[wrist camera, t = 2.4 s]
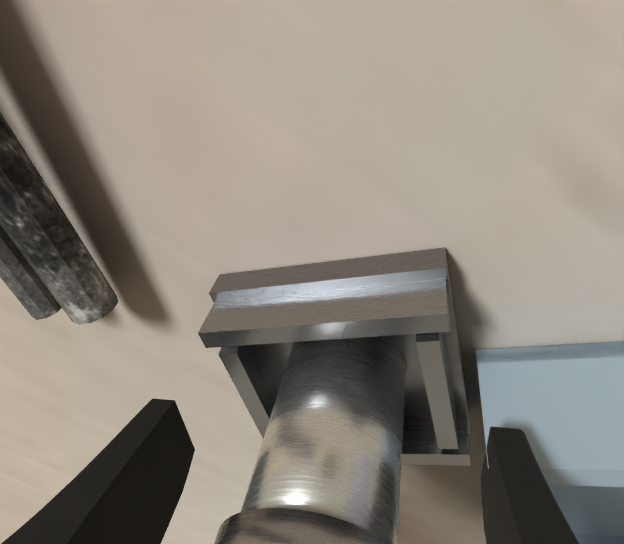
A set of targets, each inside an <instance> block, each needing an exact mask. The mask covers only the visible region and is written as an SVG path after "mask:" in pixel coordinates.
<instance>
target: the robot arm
mask: <svg viewBox="0 0 624 544" xmlns="http://www.w3.org/2000/svg"><path fill="white" fill-rule="evenodd" d="M486 449H487V453H486V454H485V459H484V465H483V471H482V476H481V488H482V504H483V518H484V530H485V536H486V542H487V544H579V542H578V541H577V539H576V537H575V535H574V533H573V532H572V530H571V528H570V526H569V524H568V522H567V521H566V519H565V517H564V515H563V513H562V512H561V510H560V508H559V506H558V504H557V502H556V500H555V498H554V496H553V494H552V492H551V490H550V488H549V486H548V484H547V482H546V480H545V478H544V476H543V474H542V472H541V470H540V467H539V465H538V463H537V461H536V459H535V456H534V454H533V452H532V449H531V447H530V445H529V442H528V440H527V437H526V435H525V433H524V432H523V431H522V430H521V429H516V428H503V427H491V426H490V431H489V437H488V442H487V448H486ZM194 451H195V449H194V446H193V444H192V441H191V439H190V437H189V434H188V432H187V429H186V427H185V424H184V422H183V420H182V417H181V415H180V412H179V410H178V407H177V405H176V403H175V400H163V399H152V400H151V401H150V402H149V403H148V404H147V405H146V406H145V407H144V408H143V409H142V410H141V411H140V412H139V413H138V414H137V415H136V416H135V417H134V418H133V419H132V420H131V421H130V422H129V423H128V424H127V425H126V426H125V427H124V428H123V429H122V431H121V432H120V433H119V434H118V435H117V436H116V437H115V438H114V439H113V440H112V441H111V442H110V443H109V444H108V445H107V446H106V447H105V448H104V449H103V450H102V451H101V452H100V453H99V454H98V455H97V456H96V457H95V458H94V459H93V460H92V461H91V462H90V463H89V464H88V465H87V466H86V467H85V468H84V469H83V470H82V471H81V472H80V473H79V474H78V475H77V476H76V477H75V478H74V479H73V480H72V481H71V482H70V483H69V484H68V485H67V486H66V487H65V488H64V489H62V490H61V491H60V492H59V493H58V494H57V495H56V496H55V497H54V498H53V499H52V500H51V501H50V502H49V503H48V504H46V505H45V506H44V507H43V508H42V509H41V510H40V511H39V512H38V513H37V514H36V515H34V516H33V517H32V518H31V519H30V520H29V521H28V522H26V523H25V524H24V525H23V526H22V527H21V528H19V529H18V530H17V531H16V532H15V533H14V534H12V535H11V536H10V537H9V538H8V539H6V540H5V541H4V542H3V543H2V544H161V541H162V539H163V537H164V534H165V532H166V530H167V527H168V525H169V523H170V520H171V518H172V516H173V513H174V511H175V508H176V506H177V504H178V501H179V499H180V496H181V494H182V491H183V488H184V485H185V482H186V479H187V476H188V472H189V469H190V465H191V462H192V458H193V454H194ZM487 457H488V463H487ZM488 465H489V469H488Z"/></svg>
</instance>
